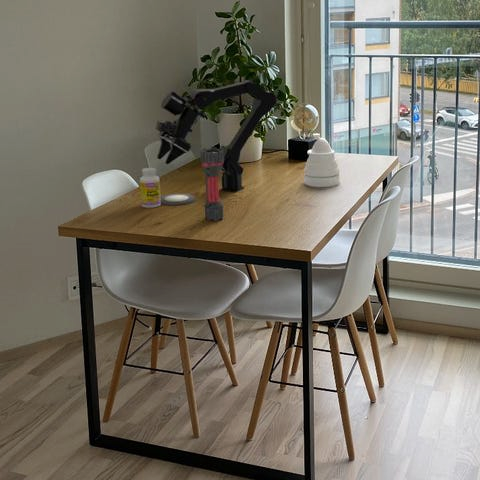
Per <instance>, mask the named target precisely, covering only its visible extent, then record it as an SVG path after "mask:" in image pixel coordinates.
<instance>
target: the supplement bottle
mask: <svg viewBox="0 0 480 480" xmlns="http://www.w3.org/2000/svg"><path fill="white" fill-rule="evenodd" d="M141 172H142V173H141V174H142V176H141V177H140V178H139V186H140V202H141V203H140V204H141V206H142V207H143V208H146V209H151V208H153V209H154V208H158V207H159V206H161V205H162V204H161V198H160V197H161V183H160V177H159V176H158V175H156V174H157V169H156V167H145V168H142V171H141Z"/></svg>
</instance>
